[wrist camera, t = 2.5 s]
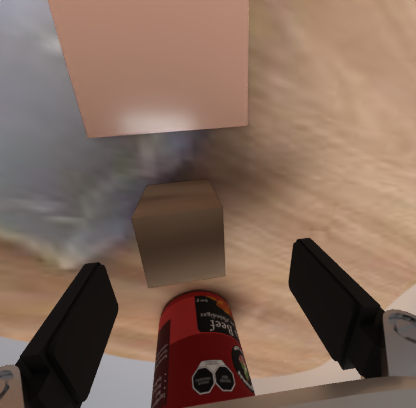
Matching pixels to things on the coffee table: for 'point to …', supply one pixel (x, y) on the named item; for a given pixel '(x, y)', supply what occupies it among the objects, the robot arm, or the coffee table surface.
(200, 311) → the canned food
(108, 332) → the robot arm
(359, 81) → the coffee table surface
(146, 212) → the walnut block
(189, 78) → the terracotta tile
